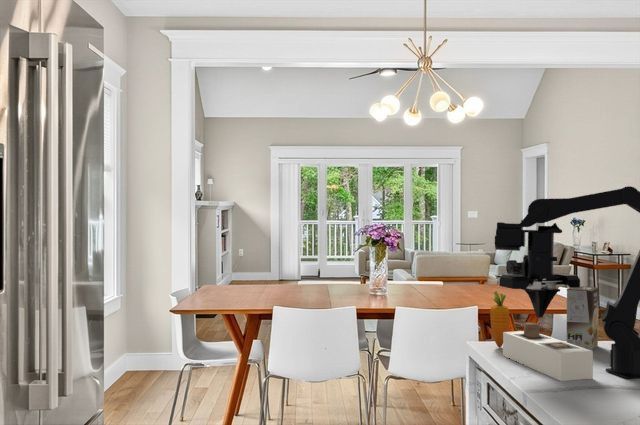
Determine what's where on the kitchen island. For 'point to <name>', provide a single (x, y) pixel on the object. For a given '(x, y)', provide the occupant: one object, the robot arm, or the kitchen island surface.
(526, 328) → the peg far
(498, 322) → the carrot
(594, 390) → the kitchen island surface
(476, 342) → the kitchen island surface
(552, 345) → the peg near
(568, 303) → the coffee box
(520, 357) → the white peg holder block
